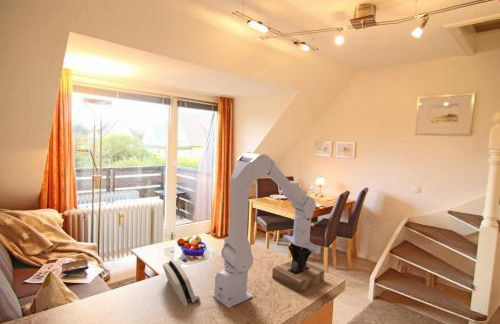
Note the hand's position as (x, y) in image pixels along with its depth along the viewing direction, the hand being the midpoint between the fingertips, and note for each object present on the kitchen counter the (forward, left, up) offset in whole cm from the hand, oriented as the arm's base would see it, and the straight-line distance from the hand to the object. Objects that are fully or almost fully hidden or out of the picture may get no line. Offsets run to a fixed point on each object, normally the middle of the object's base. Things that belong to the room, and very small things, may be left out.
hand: (298, 266), depth 97 cm
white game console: (-37, +17, -5) cm, 41 cm away
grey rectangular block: (0, 0, -4) cm, 4 cm away
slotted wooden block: (0, 0, -4) cm, 4 cm away
